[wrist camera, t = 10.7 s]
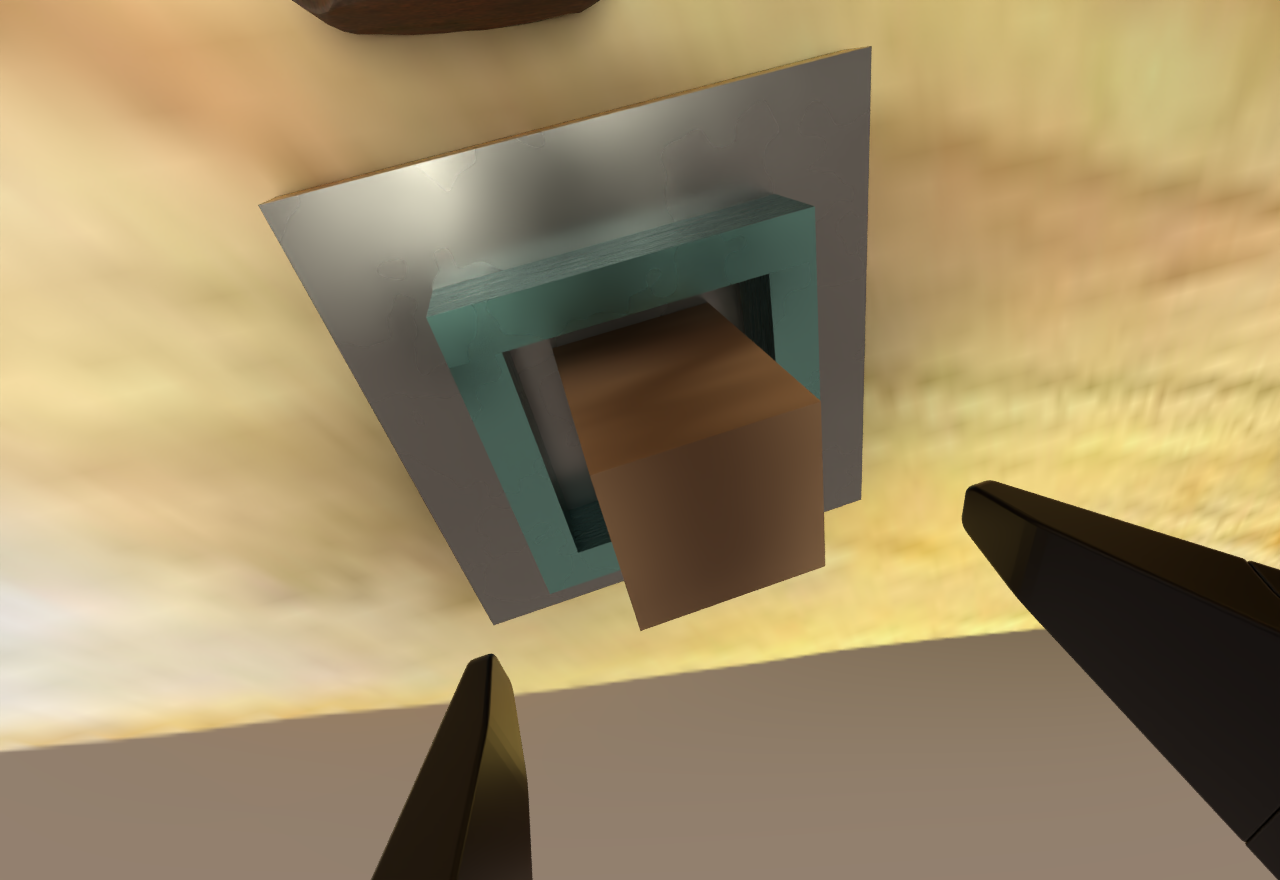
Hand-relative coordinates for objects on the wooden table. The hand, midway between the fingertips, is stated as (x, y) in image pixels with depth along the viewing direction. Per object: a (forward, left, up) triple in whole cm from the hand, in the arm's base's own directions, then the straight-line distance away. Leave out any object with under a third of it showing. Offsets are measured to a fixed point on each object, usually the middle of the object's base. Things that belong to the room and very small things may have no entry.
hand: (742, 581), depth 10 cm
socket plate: (0, 0, -9) cm, 9 cm away
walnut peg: (0, 0, -7) cm, 7 cm away
